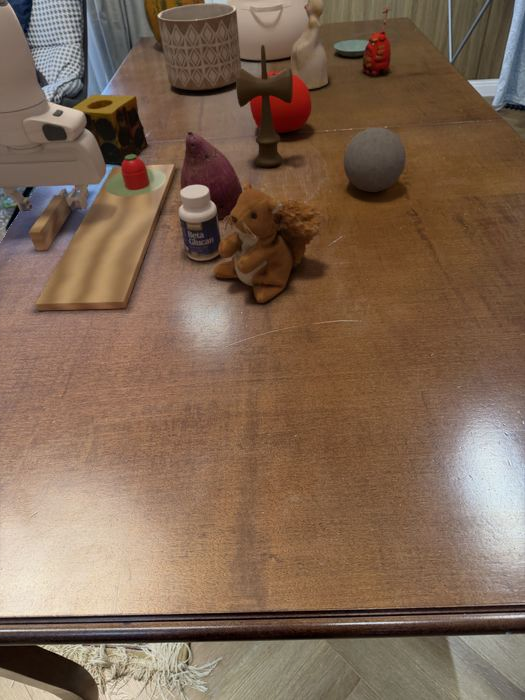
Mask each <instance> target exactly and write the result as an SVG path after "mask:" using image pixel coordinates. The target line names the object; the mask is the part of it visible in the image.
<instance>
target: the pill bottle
mask: <svg viewBox="0 0 525 700" xmlns="http://www.w3.org/2000/svg"><path fill="white" fill-rule="evenodd" d="M179 194H180V195H179V196H180V201H181V204H180V206H179V208H178V217H179V222H180V228H181V233H182V234H181V235H182V238H183V239H182V240H183V244H184V249H185V253H186V256H187V257H188V258H189V259H192V260H194V261H197V262H198V261H199V262H204V261H209V260H213V259H215V258H217V257H218V256H220V253H219V250H218V248H219V244H220V242H221V241H222V239H221V232H220V224H219V219H218V216H217V208H216V205H215V204H214V203H213V202H212V201H210V193H209V189H208V188H207V187H206V186H203V185H190V186H187V187H185V188H183V189H182V190H180V192H179Z"/></svg>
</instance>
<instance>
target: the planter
mask: <svg viewBox="0 0 525 700" xmlns="http://www.w3.org/2000/svg"><path fill="white" fill-rule="evenodd" d="M158 22H159V28H160V33H161V39H162V45H163V46H162V45H161V46H162V50H163V56H164V61H165V67H166V73H167V79H168V83H169V84H170V85H171V86H172V87H174V88H177V89H180V90H188V91H195V92H207V91H213V90H217V89H220V88H223V87H225V86H226V87H227V86H229V85H231V84H233V83H236V75H237V70H238V68H242V65H241V64H242V61H241V58H240V48H239V35H238V23H237V11H236V7H235V6H233V5H229V4H227V3H222V2H221V3H220V2H219V3H218V2H217V3H216V2H211V3H210V2H209V3H206V2H205V3H204V4H192V5H185V6H179V7H175V8H171V9H167V10H164V11H162V12H160V13H159V14H158Z"/></svg>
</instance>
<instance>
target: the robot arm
mask: <svg viewBox="0 0 525 700" xmlns="http://www.w3.org/2000/svg"><path fill="white" fill-rule="evenodd" d="M29 45H30V44H29V43H28V40H27V37H26V34H25V32H24V30H23V28H22V25H21V23H20V21H19V19H18V17H17V14H16V13H15V10H14V9H13V6H11V4H10V3H9V2H8V0H0V189H2V190H3V192H4V194H5V195H6V196H7V197H9V199H11V200H12V201H13V202H14V203H16V205H17V207H18V209H19V211H20V212H22V213H24V212H31V210H32V209H33V204H32V202H31V199H30V197H29V196H28V197H27V196H26V197H25V196H24V195H23V194H22V193H21V192H20V191H19V190H18V188H34V187H35V188H36V187H39V188H41V187H63V186H64V187H65V186H74V188H75V189H76V191H78V196H76V197H75V199H74V200H73V203H74V205H75V208H74V209H75V210H77V211H78V210H79V211H80V210H86V209H87V208H88V202H87V198H85V195H86V191H87V188H88V187H89V186H91V185H92V186H93V185H100V184H101V182H102V181H103V179H104V178H105V176H106V174H107V167H106V163H105V162H104V159H103V156H102V153H101V150H100V148H99V145H98V143H97V141H96V139H95V137H94V136H93V134H92V133H91V132H90V131H88V130H87V129H85V126H86V123H87V121H86V117H85V114H84V113H83V112H81V111H79V110H75V109H71V108H72V107H68V106H64V105H60V104H57V103H55V102H51V101H48V99H47V95H46V94H45V91H44V90H43V88H42V86H41V85H40V83H39V81H38V78H37V73H36V63H35V60H34V57H33V54H32V51H31V48H30V46H29ZM88 189H89V188H88Z"/></svg>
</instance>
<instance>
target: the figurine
mask: <svg viewBox="0 0 525 700" xmlns="http://www.w3.org/2000/svg"><path fill="white" fill-rule="evenodd" d="M304 8H305V9H306V13H307V15H308V18H309V22H308V24H307V27H306V29H305V30H304V32H303V34H302V35H301V37H300V38H299V39H298V40H297V41H296V42H295V43H294V45H293V48H292V54H291V57H290V62H289V63H290V64H289V65H290V66H289V67H290V68H291V71H292V74H294V75H296V76H298V77H299V78H300V79H301V80H302V81H303V82H304V83H305V85H306V86H307V87H308V90H309V92H313V91H317V90H321V89H323V88H326V87H327V86H328V85H329V84H330V81H329V77H328V59H327V53H326V50H325V48H324V46H323V44H322V41H321V32H322V27H323V26H322V23H321V19H320V18H321V16H322V14H323V13H324V3H323V1H322V0H308V3H307V5H305V7H304Z"/></svg>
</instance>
